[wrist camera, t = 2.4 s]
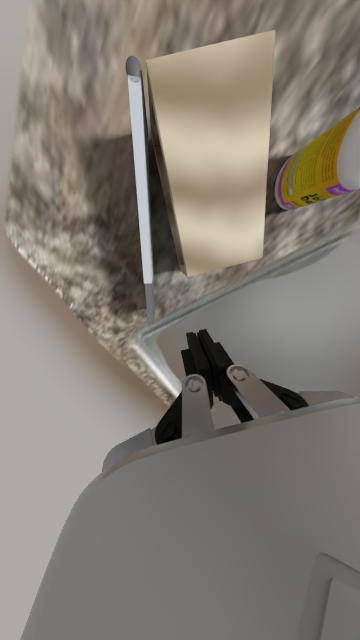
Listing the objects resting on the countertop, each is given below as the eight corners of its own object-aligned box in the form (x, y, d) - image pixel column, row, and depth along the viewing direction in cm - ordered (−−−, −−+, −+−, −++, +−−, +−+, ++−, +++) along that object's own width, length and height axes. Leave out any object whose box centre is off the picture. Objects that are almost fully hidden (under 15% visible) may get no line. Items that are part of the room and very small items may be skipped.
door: (137, 124, 16) (124, 54, 10) (147, 126, 16) (141, 57, 10) (149, 308, 26) (146, 324, 20) (155, 308, 26) (154, 323, 21)
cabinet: (151, 138, 17) (146, 59, 10) (228, 120, 17) (275, 29, 10) (179, 269, 25) (187, 277, 18) (233, 255, 25) (262, 257, 18)
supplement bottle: (269, 215, 23) (380, 179, 11) (275, 158, 20) (434, 30, 8) (308, 206, 23) (454, 162, 11) (319, 149, 20) (534, 11, 8)
